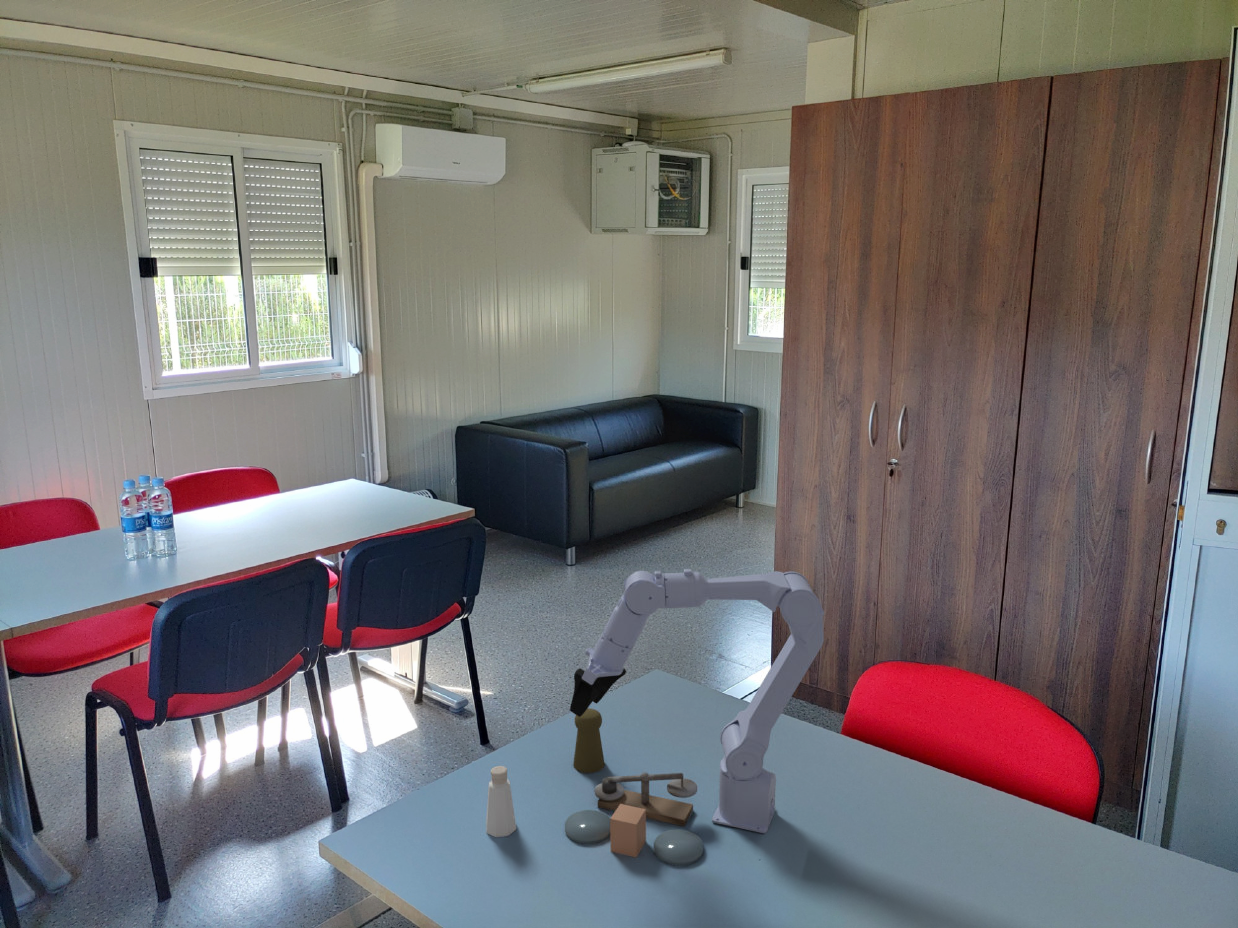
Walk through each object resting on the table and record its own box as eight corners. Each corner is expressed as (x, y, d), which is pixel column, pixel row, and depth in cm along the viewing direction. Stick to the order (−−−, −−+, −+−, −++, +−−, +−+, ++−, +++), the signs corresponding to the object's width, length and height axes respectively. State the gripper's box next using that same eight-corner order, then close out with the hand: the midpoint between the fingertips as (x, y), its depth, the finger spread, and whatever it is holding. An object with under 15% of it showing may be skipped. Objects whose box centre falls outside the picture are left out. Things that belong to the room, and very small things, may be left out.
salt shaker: (511, 839, 154) (509, 779, 152) (480, 835, 155) (477, 776, 153) (521, 820, 159) (519, 762, 157) (491, 816, 160) (488, 759, 158)
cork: (604, 773, 174) (603, 719, 172) (572, 772, 174) (571, 719, 172) (605, 756, 180) (604, 704, 178) (574, 756, 180) (573, 704, 178)
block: (645, 841, 153) (645, 809, 152) (636, 857, 149) (636, 824, 148) (620, 835, 155) (620, 803, 154) (610, 851, 151) (610, 818, 150)
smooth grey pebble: (708, 840, 153) (708, 835, 153) (694, 869, 146) (694, 864, 146) (663, 830, 156) (663, 825, 156) (647, 858, 149) (647, 853, 149)
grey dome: (618, 820, 159) (618, 815, 159) (601, 847, 152) (601, 842, 152) (576, 811, 162) (576, 806, 162) (557, 837, 155) (556, 831, 154)
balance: (700, 811, 162) (701, 768, 160) (691, 828, 157) (692, 784, 155) (601, 790, 168) (601, 748, 167) (590, 805, 164) (589, 763, 162)
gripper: (613, 617, 162) (580, 682, 164) (582, 635, 148) (547, 705, 151) (647, 638, 160) (613, 703, 162) (619, 658, 146) (582, 729, 149)
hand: (583, 706), depth 156 cm, fingers open, 7 cm apart
